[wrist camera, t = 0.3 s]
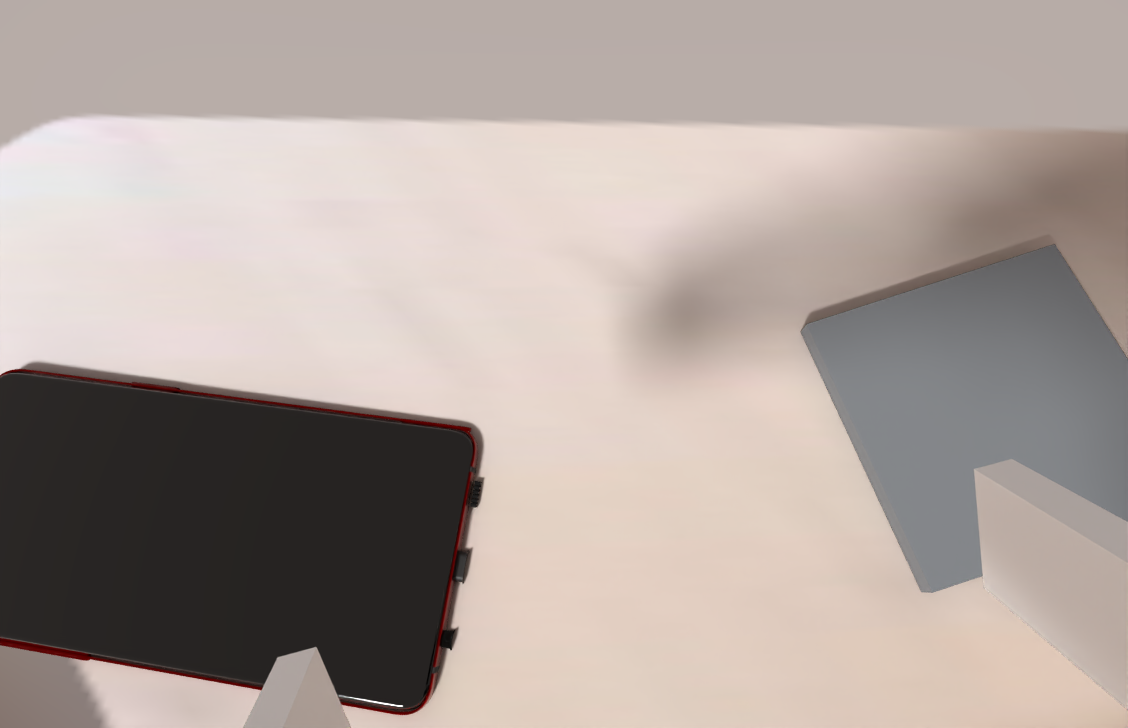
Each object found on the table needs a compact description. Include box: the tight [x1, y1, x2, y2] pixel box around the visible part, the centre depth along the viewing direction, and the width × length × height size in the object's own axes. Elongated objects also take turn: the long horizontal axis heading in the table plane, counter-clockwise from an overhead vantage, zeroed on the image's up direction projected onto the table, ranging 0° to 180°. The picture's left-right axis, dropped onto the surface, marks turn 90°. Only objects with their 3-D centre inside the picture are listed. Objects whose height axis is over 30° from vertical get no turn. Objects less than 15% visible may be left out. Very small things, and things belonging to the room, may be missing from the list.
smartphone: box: [0, 369, 482, 715], centre depth 30 cm, size 12×2×25 cm
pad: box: [801, 244, 1128, 593], centre depth 28 cm, size 12×12×1 cm
